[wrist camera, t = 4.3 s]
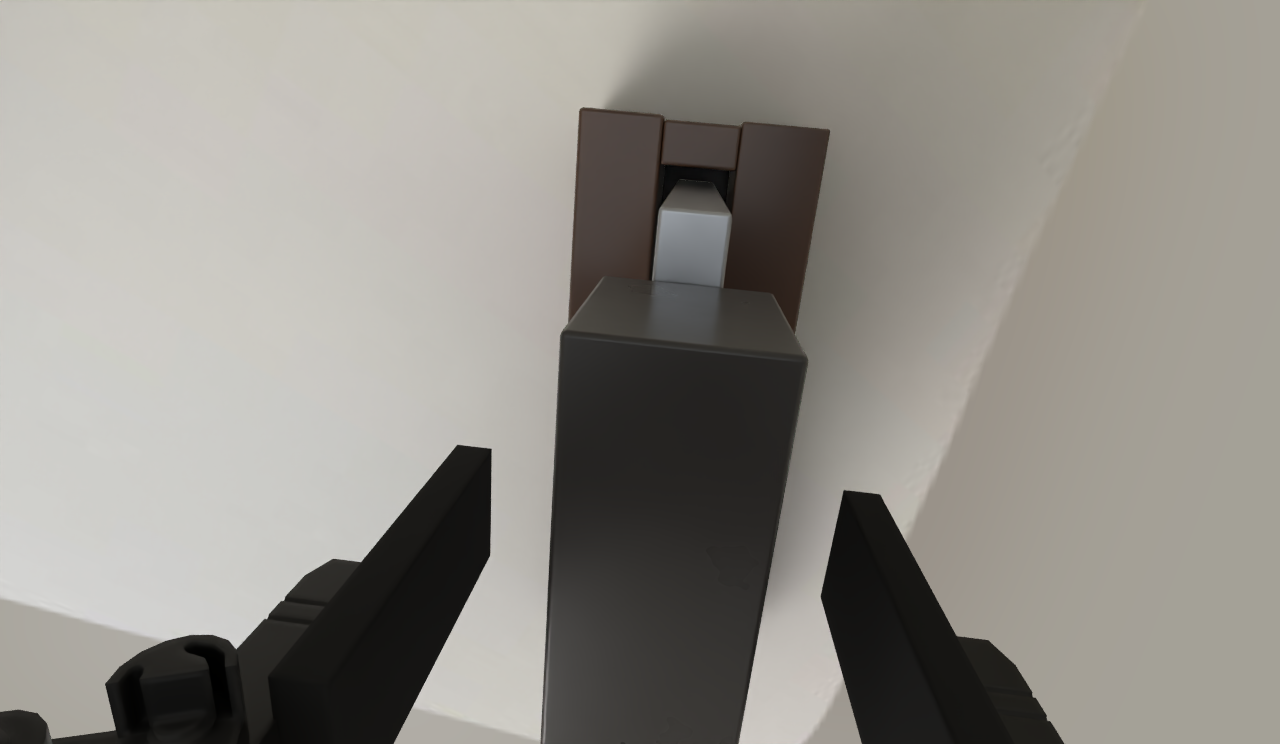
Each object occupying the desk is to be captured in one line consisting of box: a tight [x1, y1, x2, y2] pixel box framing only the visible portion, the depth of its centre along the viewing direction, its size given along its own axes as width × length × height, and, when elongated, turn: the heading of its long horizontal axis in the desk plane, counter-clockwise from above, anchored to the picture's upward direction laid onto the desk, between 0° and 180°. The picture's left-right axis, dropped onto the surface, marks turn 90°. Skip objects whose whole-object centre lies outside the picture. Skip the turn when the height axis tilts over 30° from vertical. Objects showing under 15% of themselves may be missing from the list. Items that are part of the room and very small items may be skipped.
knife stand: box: [568, 107, 830, 334], centre depth 19 cm, size 6×17×3 cm, turn 175°
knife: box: [541, 179, 808, 744], centre depth 14 cm, size 2×14×13 cm, turn 175°
